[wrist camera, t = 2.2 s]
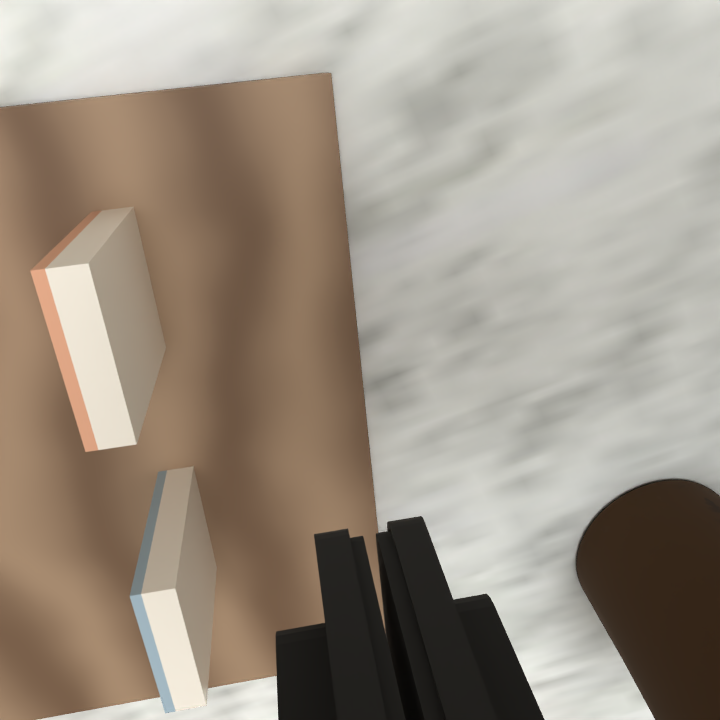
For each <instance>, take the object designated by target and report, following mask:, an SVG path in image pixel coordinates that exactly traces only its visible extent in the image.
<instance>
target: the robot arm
mask: <svg viewBox="0 0 720 720" xmlns="http://www.w3.org/2000/svg"><path fill="white" fill-rule="evenodd" d="M387 530H388V531H387V532H381V533H376V545H377V554H378V564H379V573H380V583H381V593H382V602H383V612H384V621H385V629H384V624H383V620H382V615H381V611H380V607H379V602H378V598H377V594H376V589H375V585H374V581H373V576H372V572H371V568H370V563H369V559H368V555H367V550H366V546H365V541H364V537H363V536H358V537H352V538H350V535H349V531H348V529H342V530H336V531H330V532H324V533H318V534H314V540H315V548H316V556H317V563H318V571H319V579H320V587H321V595H322V603H323V610H324V618H325V623H321V624H315V625H309V626H304V627H298V628H293V629H287V630H282V631H276V668H277V693H278V719H279V720H544V718H543V715H542V713H541V711H540V709H539V706H538V704H537V702H536V699H535V697H534V695H533V693H532V690H531V688H530V686H529V683H528V681H527V679H526V677H525V674H524V672H523V670H522V668H521V665H520V663H519V661H518V658H517V656H516V654H515V652H514V649H513V647H512V645H511V642H510V640H509V638H508V636H507V633H506V631H505V629H504V626H503V624H502V622H501V620H500V617H499V615H498V613H497V611H496V608H495V606H494V604H493V602H492V600H491V598H490V597H489V596H488V595H487V594H482V595H477V596H471V597H466V598H460V599H455V600H453V598H452V595H451V592H450V590H449V587H448V584H447V581H446V579H445V576H444V573H443V571H442V568H441V565H440V562H439V560H438V557H437V554H436V551H435V549H434V546H433V543H432V541H431V538H430V535H429V532H428V530H427V527H426V524H425V522H424V519H423V517H422V516H420V517H414V518H408V519H402V520H396V521H390V522H388V523H387ZM385 631H386V633H385Z"/></svg>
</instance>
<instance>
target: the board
mask: <svg viewBox="0 0 720 720" xmlns="http://www.w3.org/2000/svg"><path fill="white" fill-rule="evenodd" d="M127 207H134V211H135V215H136V220H137V224H138V228H139V233H140V237H141V241H142V246H143V250H144V254H145V259H146V263H147V267H148V272H149V276H150V280H151V285H152V289H153V293H154V298H155V302H156V306H157V311H158V315H159V319H160V324H161V328H162V332H163V337H164V341H165V345H166V349H165V353H164V356H163V359H162V363H161V366H160V369H159V372H158V376H157V379H156V382H155V386H154V389H153V392H152V396H151V399H150V402H149V406H148V409H147V412H146V415H145V419H144V422H143V425H142V429H141V432H140V435H139V439H138V442H137V444H136V445H129V446H123V447H116V448H109V449H103V450H96V451H89V452H85V449H84V445H83V442H82V439H81V435H80V432H79V429H78V426H77V422H76V419H75V416H74V413H73V409H72V406H71V403H70V399H69V396H68V393H67V390H66V386H65V383H64V380H63V376H62V373H61V370H60V367H59V363H58V360H57V357H56V354H55V350H54V347H53V344H52V340H51V337H50V334H49V331H48V327H47V324H46V321H45V318H44V314H43V311H42V308H41V304H40V301H39V298H38V295H37V291H36V288H35V285H34V282H33V278H32V275H31V272H30V270H31V269H33V268H34V267H35V266H36V265H37V264H38V263H39V262H40V261H41V260H42V259H43V258H44V257H45V256H46V255H47V254H48V253H49V252H50V251H51V250H52V249H53V248H54V247H55V246H56V245H57V244H58V243H60V242H61V241H62V240H63V239H64V238H65V237H66V236H67V235H68V234H69V233H70V232H71V231H72V230H73V229H74V228H75V227H76V226H77V225H78V224H79V223H80V222H81V221H82V220H83V219H84V218H85V217H87V216H88V215H89V214H90V213H91V212H94V211H102V210H110V209H118V208H127ZM192 466H193V467H194V471H195V475H196V480H197V484H198V488H199V493H200V497H201V501H202V506H203V510H204V514H205V519H206V523H207V527H208V532H209V536H210V540H211V545H212V549H213V553H214V558H215V562H216V566H217V571H216V585H215V599H214V612H213V626H212V639H211V653H210V666H209V680H208V688H212V687H217V686H223V685H228V684H234V683H239V682H244V681H250V680H255V679H261V678H266V677H272V676H277V668H276V631H282V630H287V629H293V628H298V627H304V626H309V625H315V624H321V623H325V618H324V610H323V603H322V595H321V587H320V579H319V571H318V563H317V556H316V548H315V540H314V534H318V533H324V532H330V531H336V530H342V529H348V531H349V535H350V538H352V537H358V536H363V537H364V541H365V546H366V550H367V555H368V559H369V563H370V568H371V572H372V576H373V581H374V585H375V589H376V594H377V598H378V602H379V607H380V611H381V615H382V620H383V624H384V629H385V621H384V612H383V602H382V593H381V583H380V573H379V564H378V554H377V545H376V533H378V526H377V517H376V507H375V497H374V487H373V478H372V468H371V458H370V448H369V438H368V429H367V419H366V409H365V399H364V390H363V380H362V370H361V360H360V350H359V341H358V331H357V321H356V311H355V302H354V292H353V282H352V272H351V262H350V253H349V243H348V233H347V223H346V214H345V204H344V194H343V184H342V174H341V165H340V155H339V145H338V135H337V126H336V116H335V106H334V96H333V86H332V77H331V73H318V74H308V75H299V76H290V77H280V78H271V79H261V80H252V81H242V82H233V83H223V84H214V85H205V86H195V87H186V88H176V89H167V90H157V91H148V92H138V93H129V94H120V95H110V96H101V97H91V98H82V99H72V100H63V101H53V102H44V103H35V104H25V105H16V106H6V107H0V720H37V719H42V718H48V717H53V716H59V715H64V714H69V713H75V712H80V711H86V710H91V709H97V708H102V707H108V706H113V705H119V704H124V703H130V702H135V701H141V700H146V699H152V698H157V697H160V694H159V691H158V688H157V684H156V681H155V678H154V674H153V671H152V668H151V665H150V661H149V658H148V655H147V652H146V648H145V645H144V642H143V638H142V635H141V632H140V629H139V625H138V622H137V619H136V616H135V612H134V609H133V606H132V602H131V599H130V592H131V588H132V583H133V579H134V575H135V570H136V566H137V562H138V557H139V553H140V549H141V544H142V540H143V536H144V531H145V527H146V523H147V518H148V514H149V510H150V505H151V501H152V497H153V492H154V488H155V484H156V479H157V475H158V472H160V471H166V470H173V469H179V468H186V467H192ZM385 633H386V631H385Z"/></svg>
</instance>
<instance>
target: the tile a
mask: <svg viewBox="0 0 720 720" xmlns="http://www.w3.org/2000/svg"><path fill="white" fill-rule="evenodd" d="M30 272H31V275H32V278H33V282H34V285H35V288H36V291H37V295H38V298H39V301H40V304H41V308H42V311H43V314H44V318H45V321H46V324H47V327H48V331H49V334H50V337H51V340H52V344H53V347H54V350H55V354H56V357H57V360H58V363H59V367H60V370H61V373H62V376H63V380H64V383H65V386H66V390H67V393H68V396H69V399H70V403H71V406H72V409H73V413H74V416H75V419H76V422H77V426H78V429H79V432H80V435H81V439H82V442H83V445H84V449H85V452H89V451H96V450H103V449H109V448H116V447H123V446H129V445H136V444H137V442H138V439H139V435H140V432H141V429H142V425H143V422H144V419H145V415H146V412H147V409H148V406H149V402H150V399H151V396H152V392H153V389H154V386H155V382H156V379H157V376H158V372H159V369H160V366H161V363H162V359H163V356H164V353H165V349H166V345H165V341H164V337H163V332H162V328H161V324H160V319H159V315H158V311H157V306H156V302H155V298H154V293H153V289H152V285H151V280H150V276H149V272H148V267H147V263H146V259H145V254H144V250H143V246H142V241H141V237H140V233H139V228H138V224H137V220H136V215H135V211H134V207H127V208H118V209H110V210H102V211H94V212H91V213H90V214H89V215H88V216H87V217H85V218H84V219H83V220H82V221H81V222H80V223H79V224H78V225H77V226H76V227H75V228H74V229H73V230H72V231H71V232H70V233H69V234H68V235H67V236H66V237H65V238H64V239H63V240H62V241H61V242H60V243H58V244H57V245H56V246H55V247H54V248H53V249H52V250H51V251H50V252H49V253H48V254H47V255H46V256H45V257H44V258H43V259H42V260H41V261H40V262H39V263H38V264H37V265H36V266H35V267H34V268H33V269H31V270H30Z"/></svg>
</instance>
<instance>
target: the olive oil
mask: <svg viewBox="0 0 720 720" xmlns="http://www.w3.org/2000/svg"><path fill="white" fill-rule="evenodd" d="M576 566H577V574H578V578H579V581H580V584H581V586H582V588H583V590H584V592H585V594H586V596H587V597H588V599H589V601H590V603H591V605H592V606H593V608H594V610H595V612H596V613H597V615H598V617H599V619H600V620H601V622H602V624H603V626H604V627H605V629H606V631H607V633H608V634H609V636H610V638H611V640H612V641H613V643H614V645H615V647H616V648H617V650H618V652H619V654H620V655H621V657H622V659H623V661H624V663H625V665H626V666H627V668H628V670H629V672H630V674H631V676H632V677H633V679H634V681H635V683H636V685H637V687H638V688H639V690H640V692H641V694H642V696H643V698H644V700H645V701H646V703H647V705H648V707H649V709H650V711H651V712H652V714H653V716H654V718H655V720H720V496H719V495H718V494H716V493H715V492H714V491H712V490H711V489H709V488H707V487H705V486H703V485H701V484H698V483H694V482H690V481H683V480H668V481H661V482H656V483H652V484H648V485H645V486H642V487H639V488H637V489H634V490H632V491H630V492H628V493H626V494H625V495H623V496H621V497H620V498H618V499H617V500H615V501H614V502H612V503H611V504H610V505H609V506H608V507H606V508H605V509H604V510H603V511H602V512H601V513H600V514H599V515H598V516H597V517H596V519H595V520H594V521H593V522H592V524H591V525H590V527H589V528H588V530H587V531H586V533H585V535H584V537H583V539H582V541H581V544H580V546H579V550H578V554H577V563H576Z"/></svg>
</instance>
